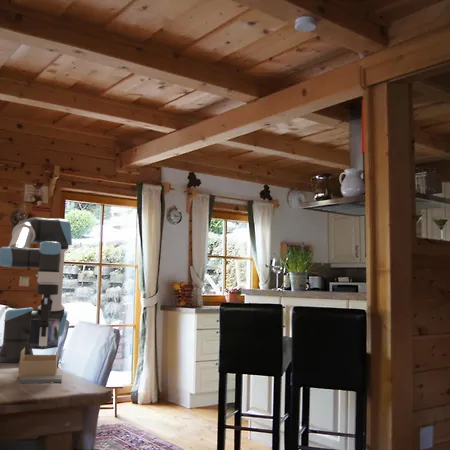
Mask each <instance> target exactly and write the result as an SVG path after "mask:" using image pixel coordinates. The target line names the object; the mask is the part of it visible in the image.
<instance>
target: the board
mask: <svg viewBox="0 0 450 450" xmlns="http://www.w3.org/2000/svg"><path fill="white" fill-rule="evenodd" d="M62 379H63V374H56V375H22V376H21V378H19V384H47V383H46V382H61V383H62V382H63V380H62Z"/></svg>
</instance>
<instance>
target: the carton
mask: <svg viewBox="0 0 450 450" xmlns="http://www.w3.org/2000/svg"><path fill="white" fill-rule="evenodd" d="M58 352H59V348H58V347H56V353H55V354H33V355H24V354H25V348H24V349H23V350H22V351H21V357H20V361H19V362H18V375H17V378H18V379H20V378H21V376H22V375H57V372H56V371H58V357H59V356H58Z"/></svg>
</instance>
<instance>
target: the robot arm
mask: <svg viewBox="0 0 450 450" xmlns="http://www.w3.org/2000/svg"><path fill="white" fill-rule="evenodd" d="M31 244H39V248H36V247H35V248H34V247H31ZM72 244H73V241H72V227H71V222H70V220H69V219H64V218H51V217H50V218H49V217H30V218H26V219H24V220H21V221H20V222H18V223H17V224H16V225H14V227H13V228H12V232H11V239H10V242H9V244H8V246H2V247H0V266H1V267H4V268H5V267H6V268H7V267H8V268H26V269H27V268H30V269H37V274H35V276H36V278H37V283H38V284H36V295H41V299H40V305H39V306H37V310H34V308H33V307H21V308H13V309H9V310H7V311H6V312H5V314H4V319H3V321H4V323H3V325H4V326H3V328H4V329H3V338H2V344H1V347H0V363H19V361H20V357H21V351H22V350H23V349H24V348H25V354H24V355H34V352H33V349H28V344H29V335H30V323H31V319H38V318H41V322H40V324H38V327H40V335H39V346H47V337H48V318H53V319H60V325H59V337H61V336H63V335H64V331H65V328H66V323H67V317H68V311H66V310H65V306H64V305H63V303H62V302H63V301H62V298H63V283H64V266H65V252H66V251H68V250H69V246H72ZM59 337H58V338H59Z"/></svg>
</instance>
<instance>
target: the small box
mask: <svg viewBox="0 0 450 450" xmlns="http://www.w3.org/2000/svg"><path fill="white" fill-rule="evenodd" d="M40 322H41V318H38V319H31V323H30V335H29V344H28V349H32V350H49V349H55V348H58V347H59V325H60V319H53V318H48V337H47V346H39V335H40V327H38V324H40Z"/></svg>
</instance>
